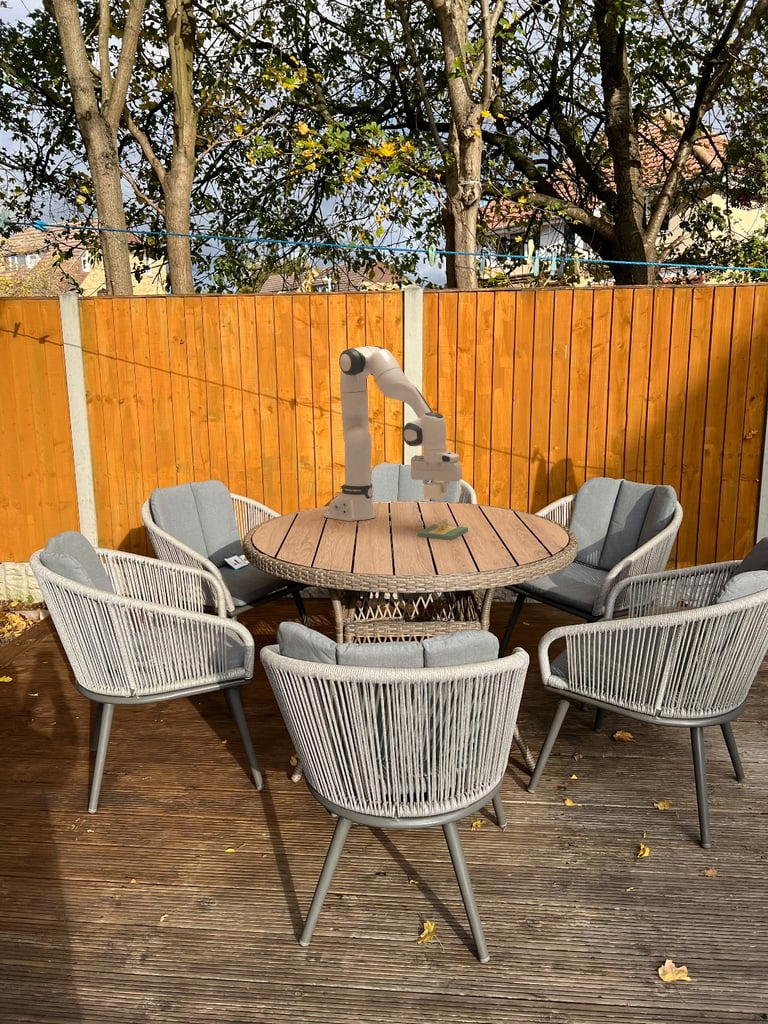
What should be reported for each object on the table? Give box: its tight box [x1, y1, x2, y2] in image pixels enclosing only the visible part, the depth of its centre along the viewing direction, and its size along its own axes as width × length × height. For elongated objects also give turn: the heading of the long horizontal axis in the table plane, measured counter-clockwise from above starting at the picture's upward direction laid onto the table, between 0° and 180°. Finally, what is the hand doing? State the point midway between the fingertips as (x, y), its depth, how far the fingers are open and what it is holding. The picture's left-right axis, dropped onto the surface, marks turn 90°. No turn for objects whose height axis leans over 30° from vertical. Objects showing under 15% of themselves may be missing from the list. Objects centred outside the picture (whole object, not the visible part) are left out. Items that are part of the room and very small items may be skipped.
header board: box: [416, 518, 469, 541], centre depth 291 cm, size 14×16×5 cm
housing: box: [422, 481, 450, 500], centre depth 289 cm, size 5×11×5 cm, turn 151°
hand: (436, 492), depth 289 cm, fingers closed on housing, 5 cm apart
